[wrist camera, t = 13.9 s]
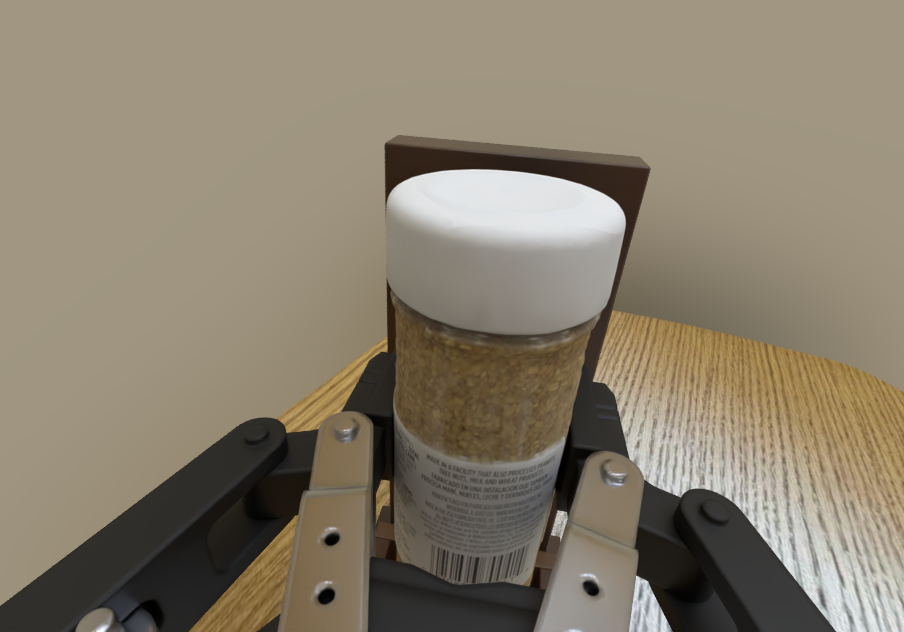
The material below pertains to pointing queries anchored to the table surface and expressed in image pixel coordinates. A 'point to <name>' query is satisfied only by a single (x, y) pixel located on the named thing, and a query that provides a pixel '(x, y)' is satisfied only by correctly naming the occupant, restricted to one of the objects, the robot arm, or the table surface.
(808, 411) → the table surface
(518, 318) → the sprinkles bottle
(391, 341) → the walnut stand
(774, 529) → the table surface
